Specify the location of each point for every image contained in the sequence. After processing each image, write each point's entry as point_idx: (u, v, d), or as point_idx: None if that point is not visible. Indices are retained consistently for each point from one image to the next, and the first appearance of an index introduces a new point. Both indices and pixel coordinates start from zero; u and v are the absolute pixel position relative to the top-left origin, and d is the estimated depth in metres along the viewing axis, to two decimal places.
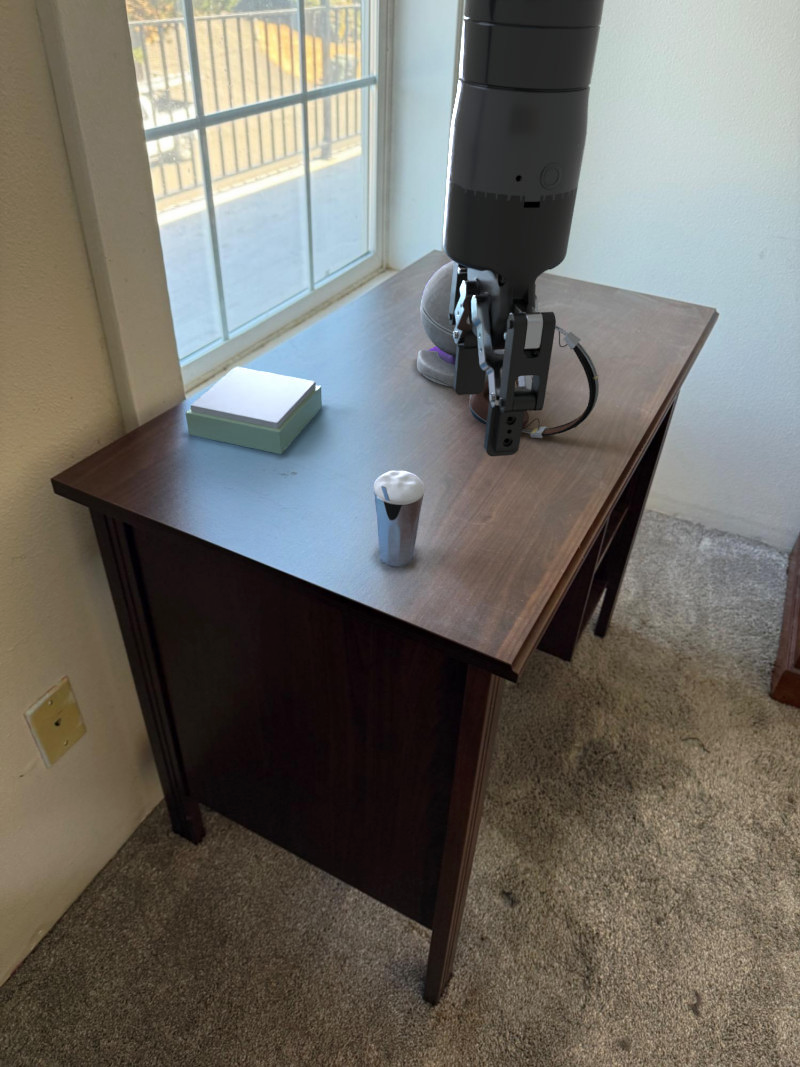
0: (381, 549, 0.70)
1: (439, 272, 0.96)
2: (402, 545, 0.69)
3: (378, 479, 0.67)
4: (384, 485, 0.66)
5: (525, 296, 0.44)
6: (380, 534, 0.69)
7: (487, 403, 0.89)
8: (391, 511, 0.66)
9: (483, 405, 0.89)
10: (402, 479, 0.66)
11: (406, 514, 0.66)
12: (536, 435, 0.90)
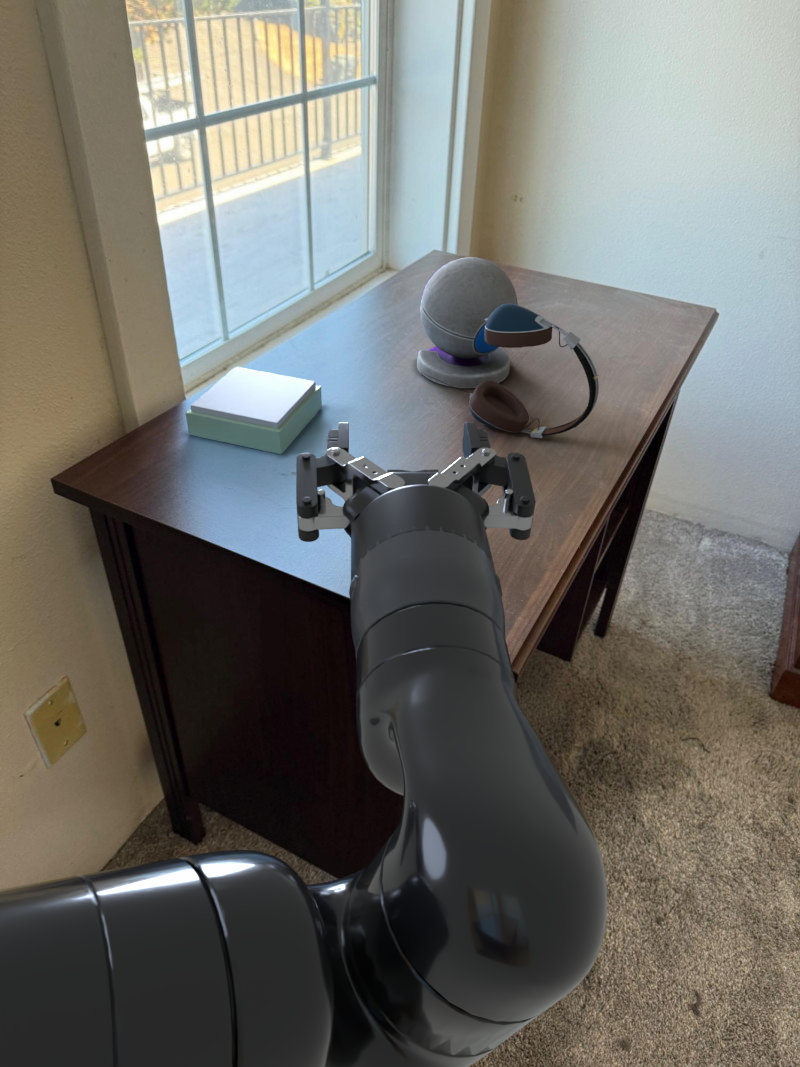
0: None
1: (439, 272, 0.96)
2: None
3: None
4: None
5: None
6: None
7: (487, 403, 0.89)
8: None
9: (483, 405, 0.89)
10: None
11: None
12: (536, 435, 0.90)
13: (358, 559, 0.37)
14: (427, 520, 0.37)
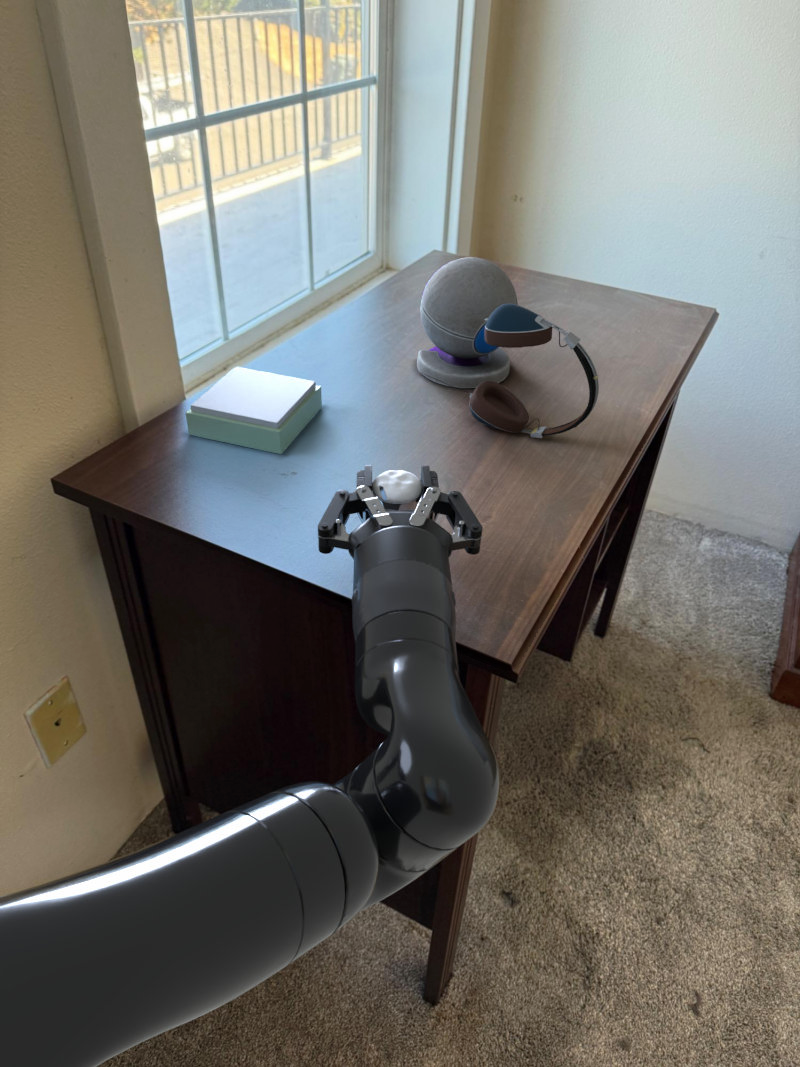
0: None
1: (439, 272, 0.96)
2: None
3: (376, 479, 0.67)
4: (382, 485, 0.66)
5: None
6: None
7: (487, 403, 0.89)
8: None
9: (483, 405, 0.89)
10: (399, 478, 0.66)
11: None
12: (536, 435, 0.90)
13: (358, 578, 0.55)
14: (405, 552, 0.54)
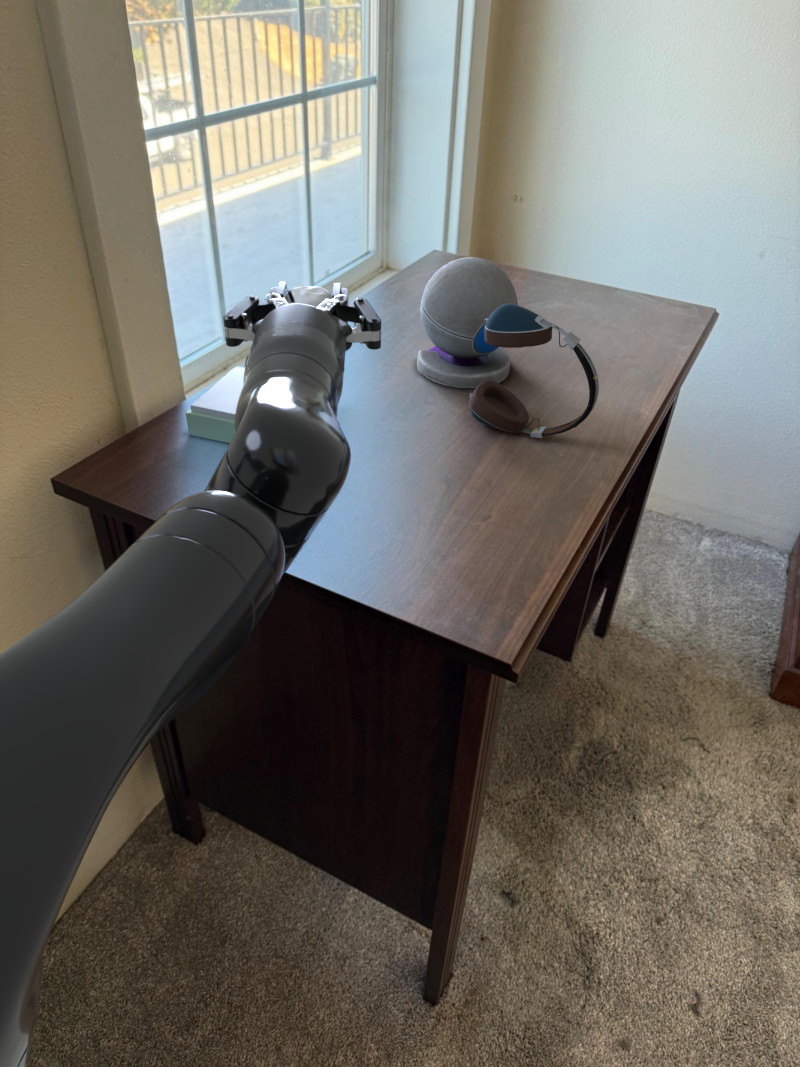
0: None
1: (439, 272, 0.96)
2: None
3: None
4: (293, 295, 0.69)
5: None
6: None
7: (487, 403, 0.89)
8: None
9: (483, 405, 0.89)
10: (310, 290, 0.69)
11: None
12: (536, 435, 0.90)
13: (252, 345, 0.58)
14: (295, 318, 0.57)
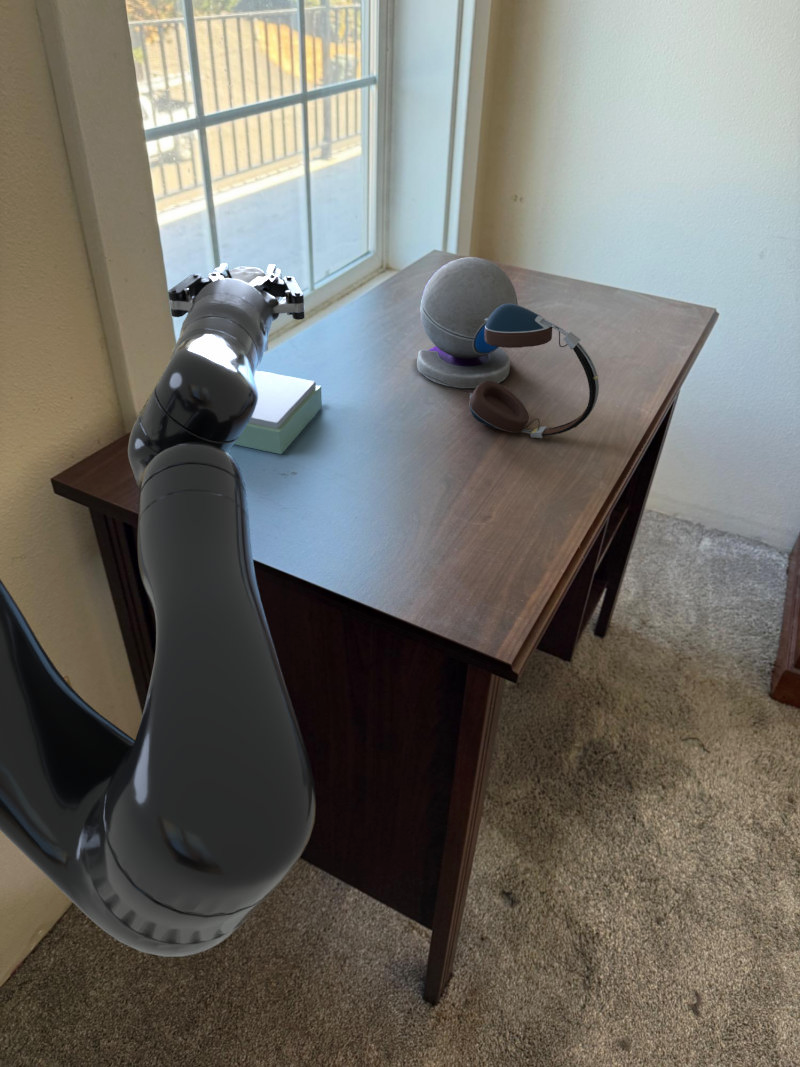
0: None
1: (439, 272, 0.96)
2: None
3: (228, 272, 0.81)
4: (232, 274, 0.80)
5: None
6: None
7: (487, 403, 0.89)
8: None
9: (483, 405, 0.89)
10: (247, 270, 0.80)
11: None
12: (536, 435, 0.90)
13: None
14: (223, 290, 0.68)
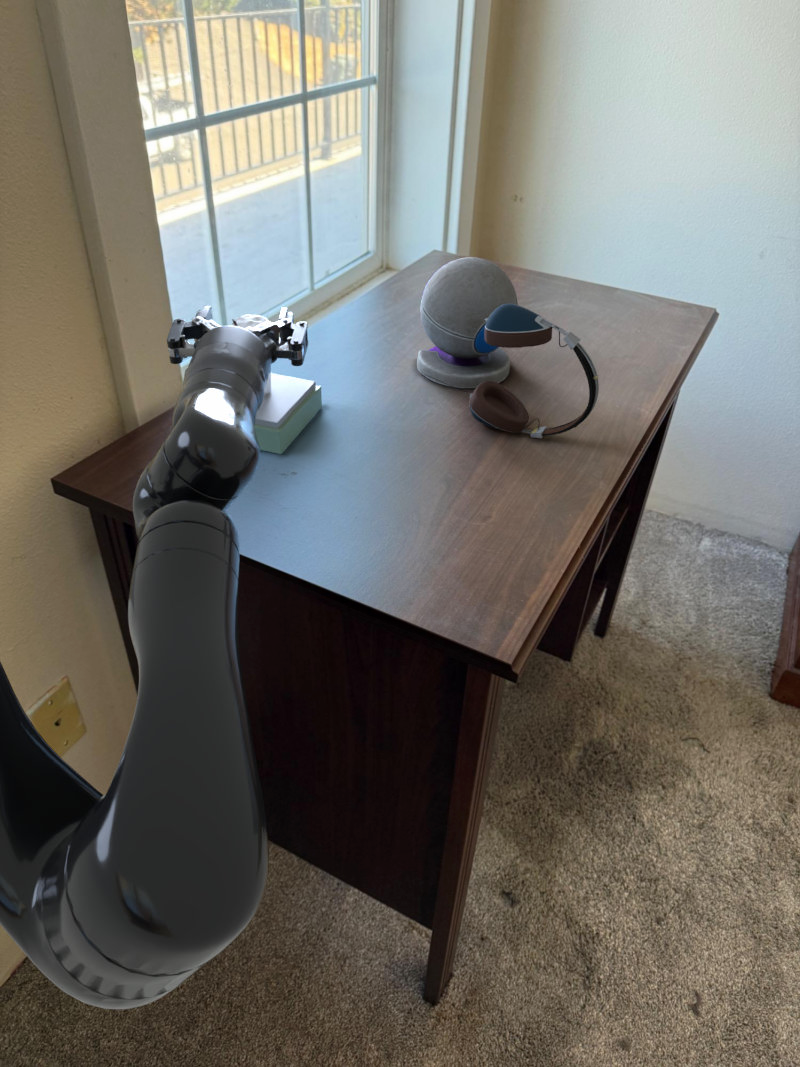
0: None
1: (439, 272, 0.96)
2: None
3: (235, 320, 0.84)
4: (238, 323, 0.83)
5: None
6: None
7: (487, 403, 0.89)
8: None
9: (483, 405, 0.89)
10: (253, 319, 0.84)
11: None
12: (536, 435, 0.90)
13: None
14: (224, 339, 0.70)
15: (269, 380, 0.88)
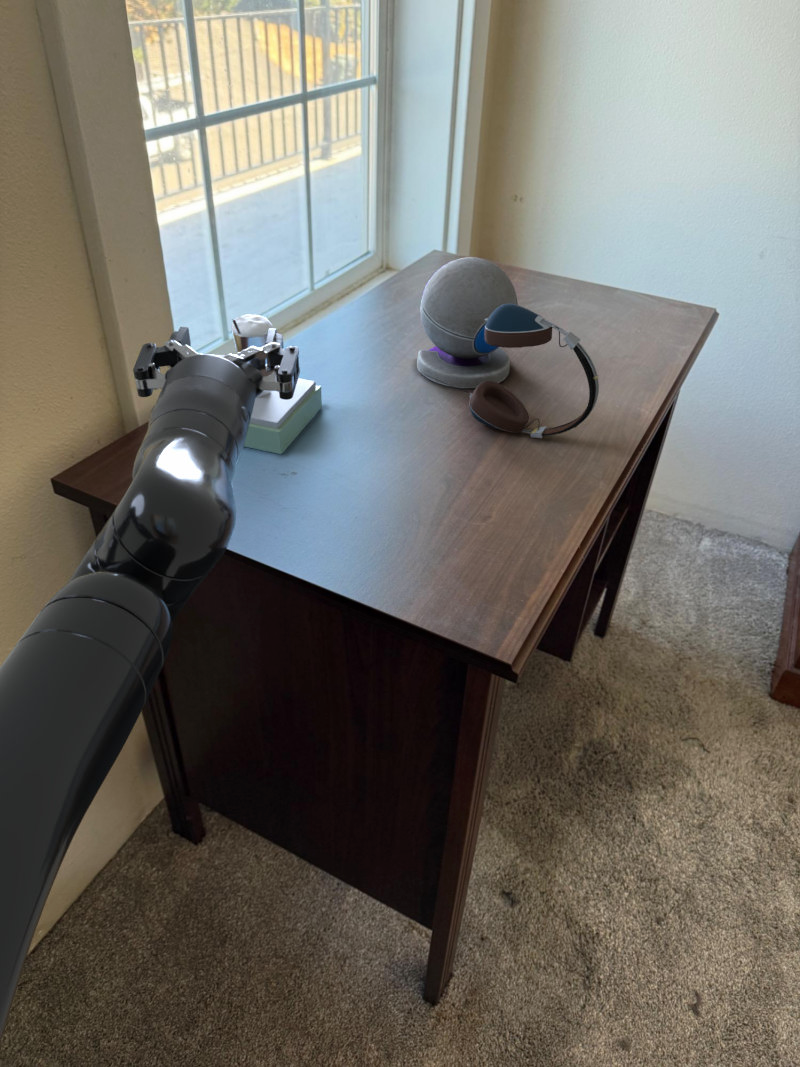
0: None
1: (439, 272, 0.96)
2: None
3: (235, 320, 0.84)
4: (238, 323, 0.83)
5: None
6: None
7: (487, 403, 0.89)
8: (244, 344, 0.83)
9: (483, 405, 0.89)
10: (253, 319, 0.84)
11: (256, 346, 0.84)
12: (536, 435, 0.90)
13: None
14: (199, 371, 0.59)
15: None
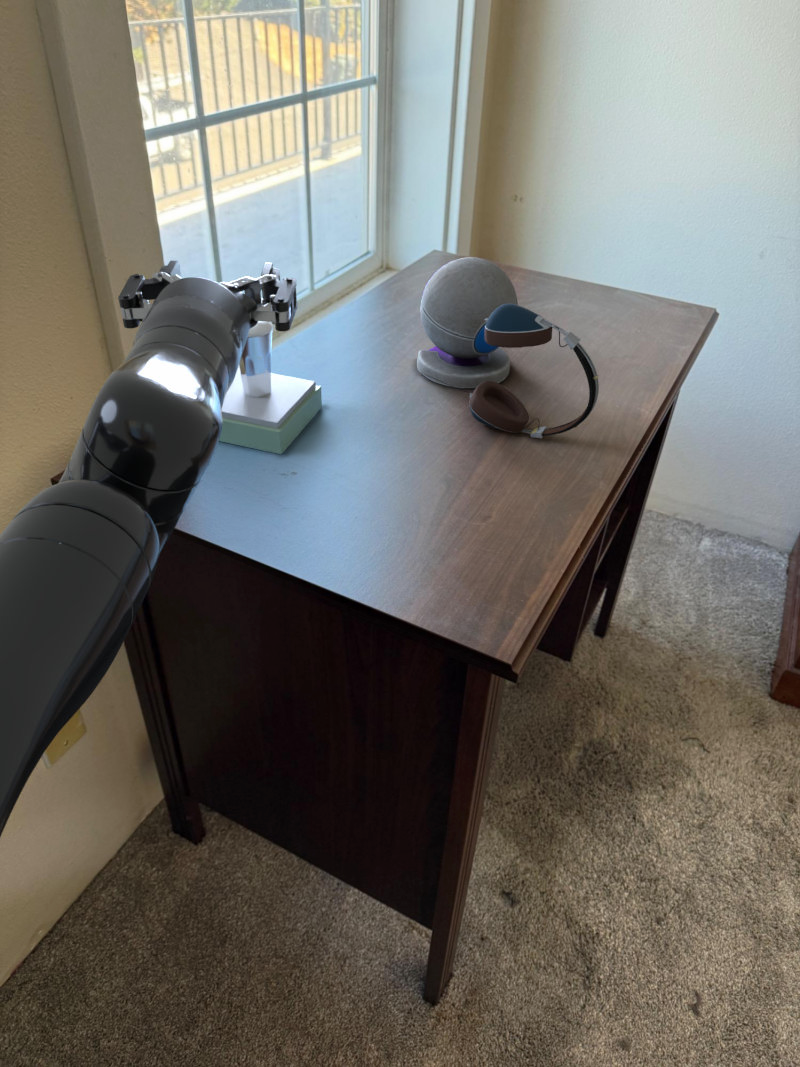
0: (243, 382, 0.88)
1: (439, 272, 0.96)
2: (257, 376, 0.86)
3: None
4: None
5: None
6: (240, 368, 0.86)
7: (487, 403, 0.89)
8: None
9: (483, 405, 0.89)
10: None
11: (256, 346, 0.84)
12: (536, 435, 0.90)
13: None
14: (187, 292, 0.55)
15: (269, 380, 0.88)
